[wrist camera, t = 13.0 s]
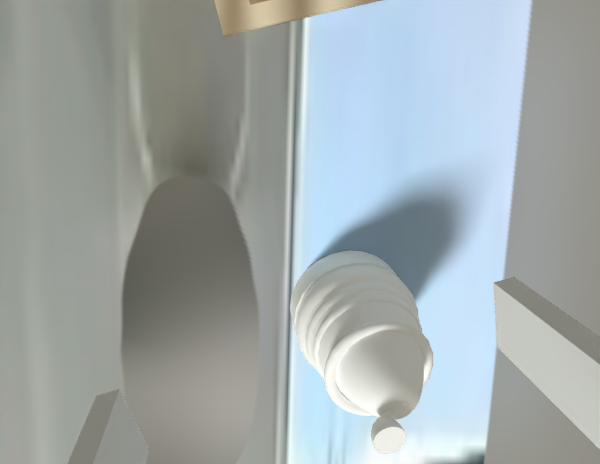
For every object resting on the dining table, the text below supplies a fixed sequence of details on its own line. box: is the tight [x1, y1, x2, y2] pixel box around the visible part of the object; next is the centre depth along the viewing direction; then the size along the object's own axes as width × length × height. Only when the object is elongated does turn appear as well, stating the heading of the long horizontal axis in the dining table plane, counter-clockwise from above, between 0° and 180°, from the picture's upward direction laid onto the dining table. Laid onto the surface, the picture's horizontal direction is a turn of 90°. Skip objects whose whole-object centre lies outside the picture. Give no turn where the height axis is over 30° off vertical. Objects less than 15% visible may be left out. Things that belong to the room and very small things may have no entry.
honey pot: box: [290, 250, 433, 454], centre depth 39 cm, size 13×13×18 cm
